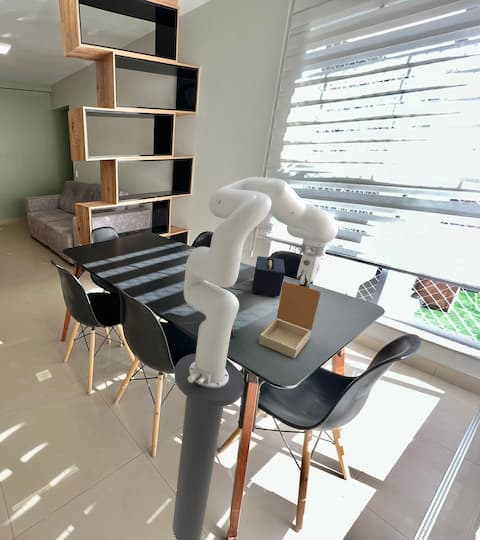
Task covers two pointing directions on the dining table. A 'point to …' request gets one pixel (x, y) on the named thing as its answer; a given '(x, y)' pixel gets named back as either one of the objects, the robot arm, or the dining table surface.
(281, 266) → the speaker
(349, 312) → the dining table surface
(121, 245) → the dining table surface
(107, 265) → the dining table surface
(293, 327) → the open wooden box
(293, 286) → the cover
